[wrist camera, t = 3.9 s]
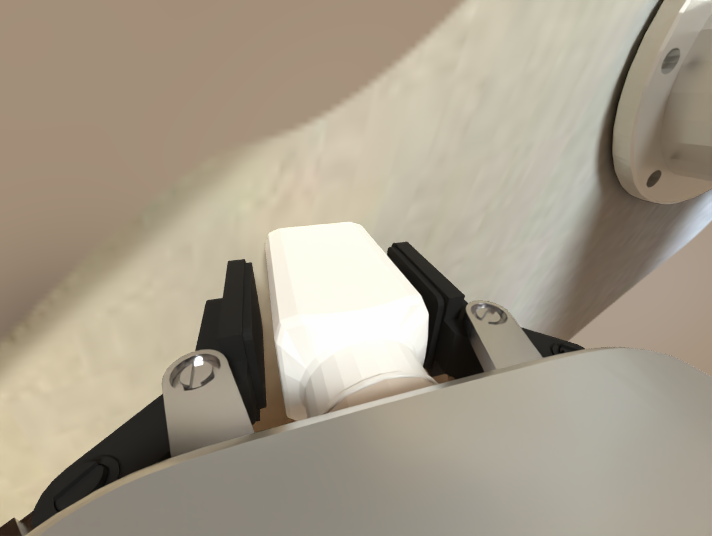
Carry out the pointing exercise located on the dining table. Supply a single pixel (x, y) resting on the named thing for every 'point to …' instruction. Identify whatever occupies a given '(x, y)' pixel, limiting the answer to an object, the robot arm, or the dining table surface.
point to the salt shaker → (342, 320)
